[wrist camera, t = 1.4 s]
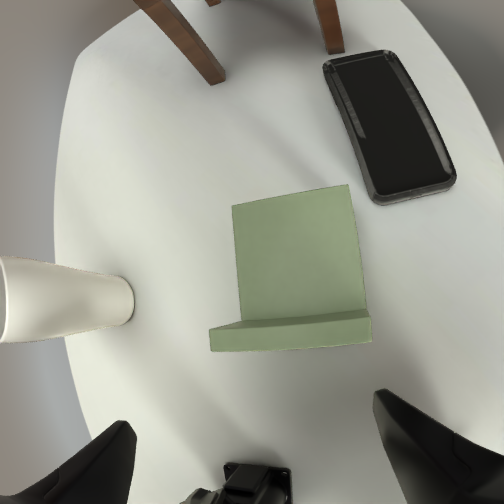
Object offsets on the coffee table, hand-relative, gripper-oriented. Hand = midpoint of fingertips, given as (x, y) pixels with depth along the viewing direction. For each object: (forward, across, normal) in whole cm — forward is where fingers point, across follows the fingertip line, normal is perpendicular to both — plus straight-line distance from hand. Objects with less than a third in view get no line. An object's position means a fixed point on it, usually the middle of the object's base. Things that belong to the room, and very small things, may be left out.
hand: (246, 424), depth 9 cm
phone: (+17, -14, -11) cm, 25 cm away
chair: (+15, -5, 0) cm, 16 cm away
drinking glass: (+20, +15, +2) cm, 25 cm away
